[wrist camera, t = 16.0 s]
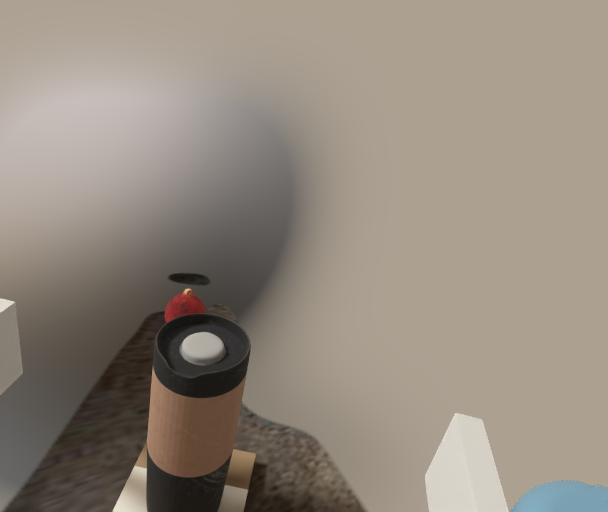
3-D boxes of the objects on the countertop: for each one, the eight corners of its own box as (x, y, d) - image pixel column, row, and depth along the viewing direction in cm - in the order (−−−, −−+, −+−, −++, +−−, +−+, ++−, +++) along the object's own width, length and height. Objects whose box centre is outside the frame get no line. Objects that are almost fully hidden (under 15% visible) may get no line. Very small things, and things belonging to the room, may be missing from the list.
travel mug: (207, 456, 50) (230, 306, 41) (235, 519, 44) (268, 361, 35) (134, 481, 46) (142, 319, 37) (155, 553, 40) (169, 384, 31)
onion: (193, 350, 66) (198, 305, 63) (156, 339, 67) (159, 294, 63) (208, 328, 71) (213, 285, 68) (174, 318, 72) (177, 275, 68)
